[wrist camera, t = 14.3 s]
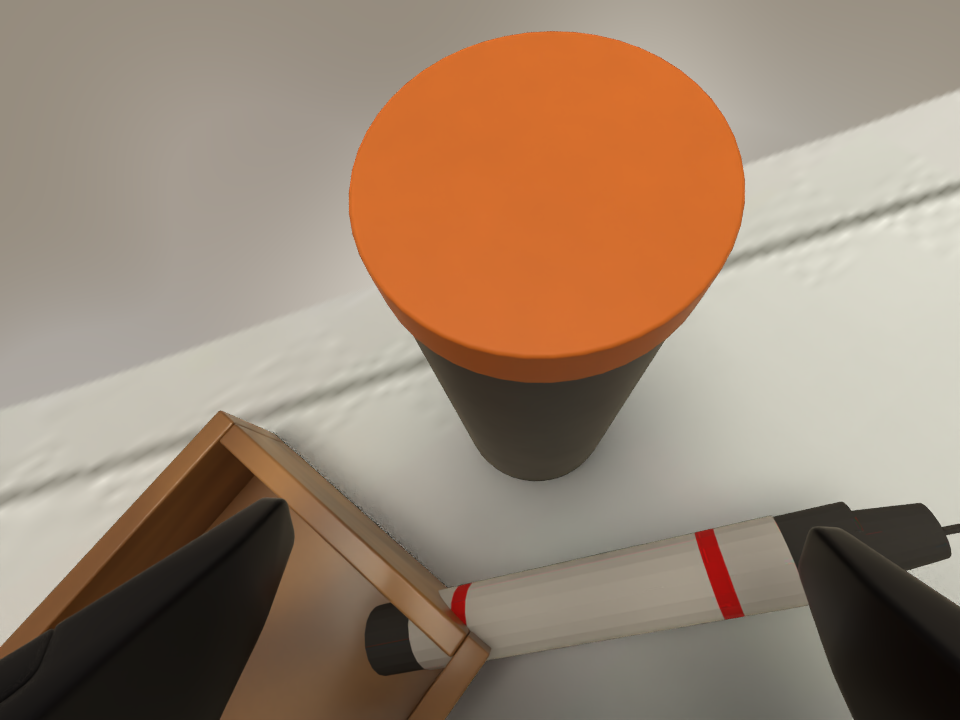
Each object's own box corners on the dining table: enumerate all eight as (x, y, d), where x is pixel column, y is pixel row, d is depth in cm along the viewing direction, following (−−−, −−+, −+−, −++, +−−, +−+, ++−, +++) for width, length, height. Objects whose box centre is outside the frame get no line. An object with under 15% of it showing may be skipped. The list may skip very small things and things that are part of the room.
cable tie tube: (636, 432, 18) (840, 212, 6) (513, 513, 17) (473, 443, 5) (553, 321, 19) (586, -22, 8) (439, 392, 19) (286, 140, 7)
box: (498, 632, 16) (490, 655, 13) (262, 970, 14) (178, 1102, 11) (273, 432, 19) (219, 408, 16) (48, 686, 17) (-69, 719, 13)
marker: (406, 666, 16) (369, 686, 14) (396, 598, 17) (359, 609, 15) (996, 562, 11) (1048, 573, 10) (948, 474, 12) (988, 468, 10)
